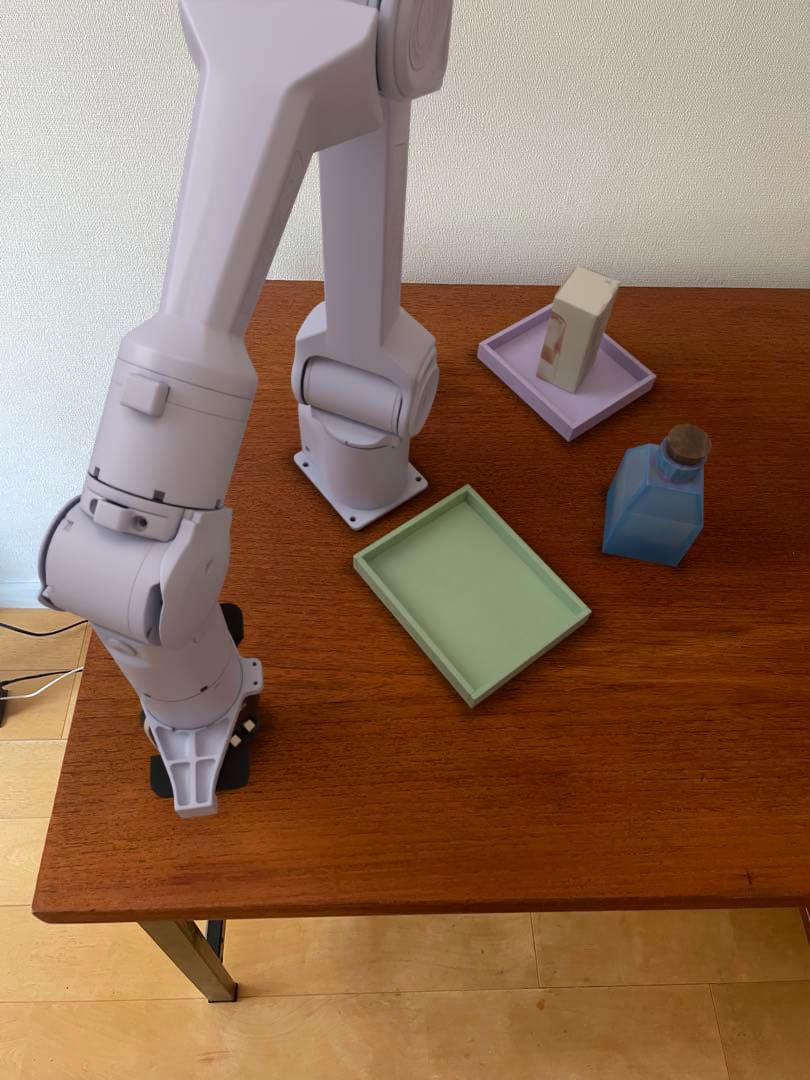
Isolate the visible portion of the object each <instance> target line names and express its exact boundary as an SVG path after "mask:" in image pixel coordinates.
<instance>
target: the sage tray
mask: <svg viewBox="0 0 810 1080" xmlns="http://www.w3.org/2000/svg"><path fill="white" fill-rule="evenodd" d="M352 557H353V562H352V563H353V566H352V567H353V569H354V570H355V571H356V572H357V573H358V575H359V576H360V577H361V578H362V580H364V582H365V583H366V584H367V585H368V587H369V588H370V590H372V591H373V593H374V594H375V595H376V596H377V597H378V599H380V601H381V602H382V603H383V605H384V606H385V607H386V608H387V609H388V610H389V612H390V613H391V615H393V617H394V618H395V619H396V620H397V621H398V623H399V624H400V625H401V626H402V627H403V629H404V630H405V632H406V633H408V634H409V636H410V637H411V638H412V639H413V641H414V642H415V643H416V644H417V645H418V647H419V648H420V650H422V651H423V653H424V654H425V655H426V656H427V657H428V658H429V660H430V661H431V662H432V663H433V665H434V666H435V667H436V668H437V670H438V671H439V672H440V673H441V674H442V675H443V677H445V679H446V680H447V681H448V682H449V684H450V685H451V686H452V687H453V689H454V690H455V691H456V692H457V693H458V695H459V696H460V697H461V698H462V700H463V701H464V702H465V703H466V704H467V705H468V706H469V708H470V709H473V708H475V707H476V706H477V705H479V704H480V703H481V702H483V701H484V700H486V699H487V698H488V697H489V696H491V695H492V694H493V693H494V692H496V691H497V690H498V689H500V688H501V687H503V685H505V684H506V683H508V682H509V681H511V680H512V679H514V678H515V677H516V676H517V675H518V674H520V673H521V672H522V671H524V670H525V669H526V668H527V667H529V666H530V665H531V664H533V663H534V662H535V661H537V660H538V659H539V658H541V657H542V656H543V655H545V654H546V653H548V651H550V650H551V649H552V648H554V647H555V646H557V645H558V644H559V643H561V642H562V641H563V640H565V639H566V638H567V637H569V635H571V634H572V633H574V632H575V631H576V630H578V629H579V628H581V626H583V625H584V624H586V623H587V621H588V619H589V618H590V616H591V614H592V609H590V608H589V607H588V606H587V605H586V603H584V602H583V601H582V599H580V598H579V596H578V595H577V594H576V593H575V592H574V591H573V590H572V589H571V588H570V587H569V586H568V585H567V584H566V583H565V582H564V581H563V580H562V579H561V578H560V577H559V576H558V575H557V574H556V572H554V571H553V570H552V569H551V567H549V565H548V564H546V563H545V562H544V560H543V559H542V558H541V557H540V556H539V555H538V554H537V553H536V552H535V551H534V550H533V549H532V548H531V547H530V546H529V545H528V544H527V543H526V542H525V541H524V540H523V538H522V537H521V536H519V535H518V534H517V532H515V530H514V529H512V527H511V526H510V525H509V524H508V523H507V522H506V521H505V520H504V519H503V518H502V517H501V515H499V514H498V513H497V512H496V511H495V510H494V509H493V508H492V507H491V505H490V504H489V503H487V502H486V501H485V500H484V499H483V497H481V496H480V494H479V493H478V492H477V491H476V490H475V489H474V488H473V487H472V486H471V485H470V484H469V483H467V484H464V485H463V486H462V487H460V488H459V489H457V490H455V491H454V492H452V493H451V494H449V495H448V496H446V497H445V498H443V499H441V500H439V501H438V502H437V503H434V504H433V505H431V506H430V507H428V508H427V509H425V510H424V511H422V512H420V513H419V514H417V515H415V516H414V517H413V518H411V519H409V520H408V521H406V522H404V523H403V524H401V525H400V526H398V527H396V528H395V529H393V530H392V531H390V532H389V533H387V534H385V535H384V536H382V537H381V538H379V539H377V540H376V541H373V543H371V544H369V545H368V546H367V547H365V548H363V549H362V550H360V551H358V552H357V553H355V554H354V555H353V556H352Z"/></svg>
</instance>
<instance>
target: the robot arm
mask: <svg viewBox="0 0 810 1080" xmlns="http://www.w3.org/2000/svg"><path fill="white" fill-rule="evenodd" d="M177 7H178V13H179V19H180V24H181V28H182V33H183V37H184V39H185V44H186V47H187V50H188V53H189V55H190V58H191V60H192V62H193V64H194V66H195V68H196V70H197V72H198V73H199V77H198V82H197V89H196V95H195V100H194V104H193V105H194V106H193V111H192V117H191V123H190V128H189V133H188V139H187V146H186V151H185V157H184V163H183V169H182V174H181V175H182V176H181V180H180V187H179V192H178V196H177V197H178V198H177V203H176V208H175V214H174V221H173V227H172V232H171V238H170V244H169V248H168V255H167V261H166V266H165V273H164V278H163V283H162V289H161V295H160V301H159V306H158V310H157V312H155V314H153V315H152V316H151V317H150V318H148V319H146V320H145V321H144V322H142V323H141V324H139V325H138V326H136V327H134V328H132V329H131V330H129V331H128V332H127V333H126V334H124V335H123V336H122V337H121V340H120V343H119V347H118V352H117V355H116V358H115V362H114V366H113V371H112V373H111V378H110V382H109V386H108V390H107V392H106V393H107V394H106V397H105V401H104V405H103V409H102V413H101V416H100V421H99V425H98V428H97V432H96V436H95V441H94V444H93V448H92V452H91V456H90V459H89V464H88V467H87V472H86V474H85V479H84V483H83V486H82V491H81V493H80V494H78V495H76V496H74V497H72V498H71V499H70V500H68V501H67V502H66V503H65V504H64V505H63V506H62V507H61V508H60V509H59V510H58V511H57V514H56V515H54V517H53V518H52V520H51V521H50V523H49V525H48V527H47V528H46V531H45V532H44V535H43V538H42V541H41V544H40V547H39V550H38V555H37V575H38V580H39V582H40V588H39V590H38V593H37V595H36V600H37V601H38V602H39V604H41V605H43V606H44V607H46V608H48V609H50V610H53V611H57V612H60V613H66V612H68V613H70V614H72V615H75V616H78V617H80V618H82V619H84V620H87V622H88V623H89V626H91V628H92V629H93V631H94V632H95V634H96V635H97V637H98V638H99V640H100V641H101V643H102V644H103V645H104V647H105V649H106V650H107V651H108V653H109V654H110V656H111V658H112V659H113V660H114V662H115V663H116V665H117V666H118V668H119V669H120V670H121V672H122V674H123V675H124V677H125V678H126V680H127V681H128V682H129V683H130V685H131V686H132V688H133V689H134V691H135V692H136V694H137V696H138V697H139V700H140V704H141V707H142V709H143V710H144V712H145V715H146V718H147V720H148V723H149V725H150V728H151V730H152V733H153V736H154V738H155V741H156V743H157V746H158V749H159V751H160V752H159V751H158V752H159V754H155V755H150V756H149V786H150V788H151V791H152V792H153V793H154V795H156V797H157V798H159V799H174V800H173V801H174V802H173V803H174V805H173V806H174V811H175V812H176V813H177V815H178V816H179V817H180V818H181V819H188V818H199V817H206V816H210V815H217V814H218V812H219V799H218V796H217V794H216V793H218V792H226V791H233V790H239V789H241V788H244V787H246V786H247V785H248V783H249V781H250V778H251V777H250V776H251V758H250V757H251V756H250V746H249V745H247V746H246V747H238V748H230V749H227V748H228V745H229V742H230V738H231V735H232V732H233V729H234V726H235V723H236V720H237V717H238V714H239V711H240V708H241V705H242V702H243V700H244V698H245V697H246V696H249V695H255V694H258V693H259V694H260V693H261V692H262V691H263V690H264V669H263V665H262V662H261V660H260V659H258V658H257V657H244V656H242V655H241V654H240V651H239V650H238V647H239V645H240V644H241V643H242V642H243V640H244V639H245V629H244V627H245V626H244V615H243V611H242V609H241V608H240V607H239V606H238V605H237V604H236V603H232V602H221V603H220V601H219V597H220V595H221V592H222V589H223V586H224V584H225V580H226V579H227V578H226V577H227V575H228V571H229V568H230V561H231V553H232V552H231V551H232V548H231V547H232V545H231V543H232V542H231V536H230V535H231V533H230V531H231V526H232V522H233V519H234V517H233V513H234V510H233V509H232V508H230V507H228V506H226V505H224V503H225V500H226V497H227V494H228V490H229V487H230V483H231V479H232V477H233V473H234V469H235V465H236V462H237V459H238V456H239V452H240V448H241V446H242V442H243V438H244V435H245V432H246V427H247V424H248V420H249V417H250V414H251V410H252V406H253V404H254V400H255V396H256V394H257V390H258V386H259V376H258V374H257V371H256V369H255V365H254V364H253V362H252V360H251V358H250V355H249V353H248V350H247V347H246V345H245V340H244V339H245V335H246V333H247V330H248V328H249V325H250V323H251V319H252V317H253V314H254V312H255V309H256V307H257V303H258V301H259V298H260V296H261V293H262V290H263V287H264V285H265V283H266V280H267V278H268V275H269V272H270V269H271V267H272V264H273V261H274V258H275V256H276V253H277V250H278V248H279V245H280V242H281V240H282V237H283V235H284V232H285V229H286V228H287V227H286V226H287V224H288V221H289V218H290V216H291V214H292V211H293V208H294V205H295V203H296V201H297V197H298V195H299V193H300V189H301V187H302V184H303V182H304V179H305V177H306V173H307V171H308V168H309V165H310V163H311V160H312V158H313V155H314V154H315V153H317V156H318V177H319V179H318V180H319V181H318V182H319V197H320V199H319V200H320V220H321V221H320V222H321V223H320V224H321V243H322V246H321V247H322V265H323V266H322V267H323V290H324V291H323V292H324V301H321V302H319V303H318V304H317V305H315V306H314V307H313V309H312V310H311V311H310V312H309V314H308V315H307V317H305V320H304V321H303V322H302V324H301V326H300V328H299V330H298V332H297V334H296V336H295V338H294V339H295V340H294V341H295V342H294V343H295V344H294V345H295V349H294V359H293V363H292V368H291V376H290V383H291V390H292V392H293V396H294V399H295V401H296V402H297V403H298V406H297V415H298V425H299V433H300V434H299V435H300V443H301V451H298V452H297V453H295V454H294V456H293V461H294V463H295V464H296V466H298V468H299V469H300V470H301V471H302V473H304V475H305V476H306V477H307V478H308V479H309V480H310V482H311V483H312V484H313V485H314V486H315V488H316V489H317V490H318V491H319V492H320V493H321V494H322V496H323V497H324V498H325V499H326V500H327V502H328V503H329V504H330V505H331V506H332V507H333V508H334V510H335V511H336V512H337V513H338V514H339V515H340V517H341V518H342V519H343V520H344V521H345V522H346V524H347V525H348V526H349V528H351V530H353V531H360V530H361V529H363V528H365V527H366V526H368V525H369V524H371V523H373V522H375V521H376V520H378V519H379V518H382V517H383V516H385V515H386V514H388V513H389V512H391V511H392V510H395V509H396V508H397V507H399V506H400V505H402V504H404V503H405V502H407V501H408V500H410V499H412V498H414V497H415V496H417V495H418V494H421V492H423V491H425V490H426V489H427V488H428V486H429V483H428V480H426V478H425V477H424V476H423V475H422V474H421V473H420V472H419V471H418V470H417V469H416V467H414V466H413V464H412V463H410V460H409V455H410V444H411V443H410V441H411V439H412V438H413V437H416V436H417V435H418V434H419V433H420V432H422V429H423V427H424V425H425V424H426V423H427V422H426V421H427V419H428V417H429V415H430V412H431V410H432V407H433V403H434V400H435V397H436V393H437V390H438V385H439V378H440V368H439V366H438V361H437V353H438V352H437V351H438V350H437V348H436V342H437V339H436V337H435V336H434V335H433V334H432V333H431V332H430V331H428V329H426V327H425V326H424V325H422V324H421V323H420V322H419V321H417V319H415V318H414V317H413V316H412V315H411V314H409V313H408V312H407V310H405V309H404V308H403V307H402V305H401V292H402V275H403V259H404V258H403V256H404V242H405V241H404V240H405V239H404V238H405V222H406V203H407V187H408V186H407V185H408V166H409V151H410V150H409V149H410V132H411V131H410V130H411V113H412V101H414V100H417V99H419V98H422V97H425V96H428V95H430V94H433V93H436V92H438V91H440V90H441V89H442V87H443V83H444V78H445V76H446V75H445V74H446V71H447V68H448V62H449V53H450V51H449V50H450V42H451V41H450V40H451V32H452V31H451V30H452V21H453V19H452V18H453V9H454V8H453V7H454V0H177ZM418 480H419V481H418ZM353 520H354V521H353Z"/></svg>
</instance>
